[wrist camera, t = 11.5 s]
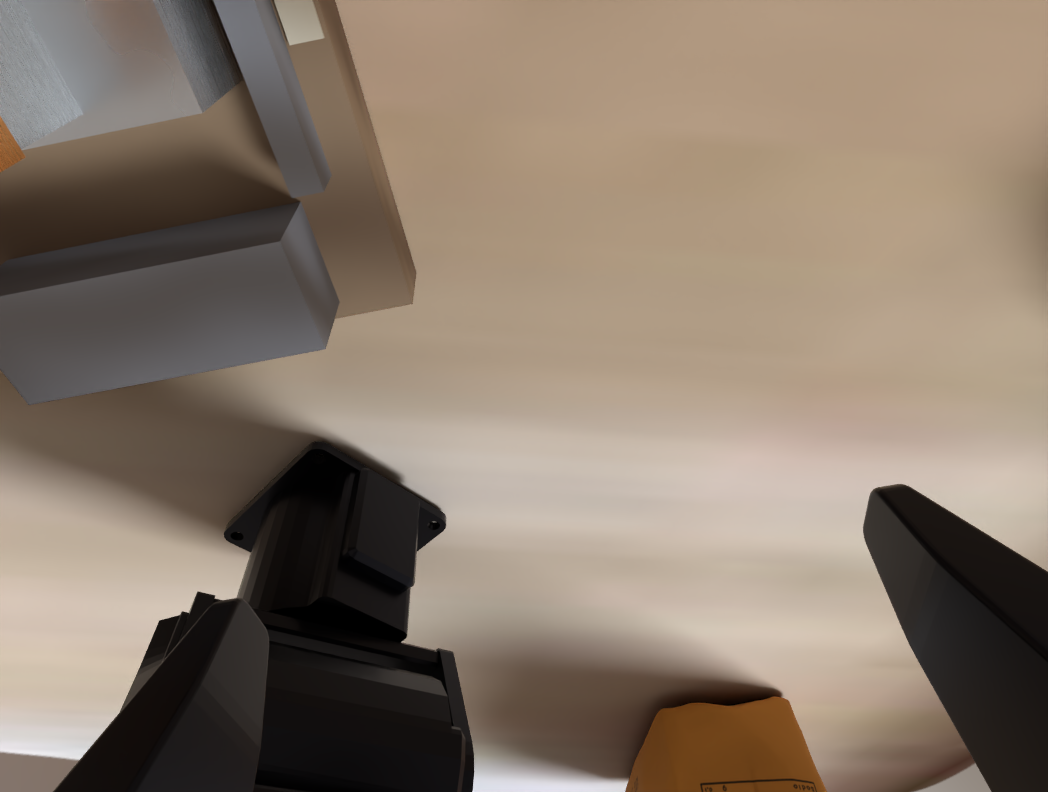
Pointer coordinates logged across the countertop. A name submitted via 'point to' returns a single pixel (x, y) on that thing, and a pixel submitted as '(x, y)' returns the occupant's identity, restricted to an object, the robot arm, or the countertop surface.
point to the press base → (224, 179)
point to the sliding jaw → (105, 67)
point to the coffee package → (725, 750)
